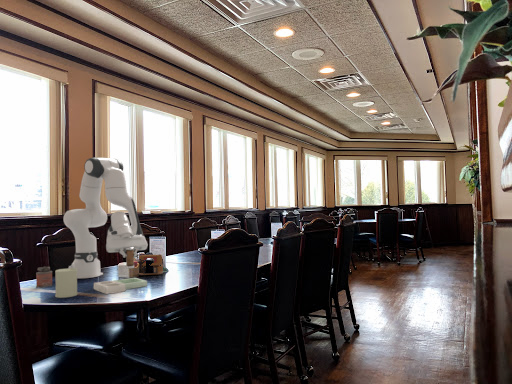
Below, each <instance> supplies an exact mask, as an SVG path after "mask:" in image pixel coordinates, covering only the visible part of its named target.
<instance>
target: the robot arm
mask: <svg viewBox="0 0 512 384" xmlns="http://www.w3.org/2000/svg"><path fill="white" fill-rule="evenodd" d="M84 162H85V163H84V165H83V167H84V172H83V175H82V178H81V182H80V183H81V184H80V189H79V199H80V201H81V202H83V203H85V208H75V209H70V210H66V212H65V213H64V215H63V224H64V225H65V226H66V227H67V228H68V229H70V230H69V231H71V233H72V234H73V236H74V240H75V241H74V242H75V253H74V260H73V262H72V263H71V265H68V269H69V268H75V269H77V279H89V278H96V277H100V276H103V275H104V272H101V261H100V259H98V255H99V254H98V251H97V237H96V236H95V235H93V233H91V232H90V230H89V228H98V227H102V226H104V225H106V223H107V221H108V214H107V212H106V211H105V210H104V209H103V208H102V204H101V196H102V195H101V193H102V187H103V181H104V194H105V197H106V200H107V201H108V202H109V203H111V204H112V205H114V206H118V207H121V208H123V209H125V210H126V211H127V213H128V215H127V214H126V212H123V211H115V212H113V213H112V214H111V216H110V221H111V223H110V226H109V227H108V228H107V232H106V244H105V249H106V252H107V253H119V254H120V255H122V257H123V258H126V257H127V253H126V248H128V247H134V258H135V257H137V256H138V253H137V252H138V251H145V250H147V249H148V245H149V244H148V241H147V240H146V237H145V235H144V232H143V229H142V227H141V224H140V220H139V216H138V214H139V213H138V211H137V208H136V204H135V201H134V198H133V197H131V196H130V195H129V193H128V190H127V183H126V182H127V181H126V178H125V173H124V165H123V162H122V161H121V160H119V159H116V158H109V157H90V158H89V157H88V159H86V160H85V161H84ZM128 216H129V217H128ZM130 224H131V225H130Z"/></svg>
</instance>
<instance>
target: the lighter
mask: <svg viewBox="0 0 512 384" xmlns="http://www.w3.org/2000/svg"><path fill="white" fill-rule="evenodd" d="M37 271H38V272H36V273H35V275H36V278H35V279H36V283H35V288H36V289H42V288H48V287H53V270H51V267H50V266H43V267H37Z"/></svg>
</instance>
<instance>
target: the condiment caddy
mask: <svg viewBox="0 0 512 384" xmlns="http://www.w3.org/2000/svg"><path fill="white" fill-rule="evenodd" d="M147 258H153V259H154V260H155V261H154V263H152V264H151V265H150V264H149V265H150V266H153V267H154V273H139V272H138V275H139V276H147V275H163V274H164V266H163V265H164V264H163V256H162V254H140V255H139V256H138V260H139V259H142V260H146V259H147ZM142 262H143V261H142ZM142 265H143V266H145V268H146V261H145V262H144V263H143V264H142ZM160 265H161V266H160Z"/></svg>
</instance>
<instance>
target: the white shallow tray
mask: <svg viewBox="0 0 512 384" xmlns="http://www.w3.org/2000/svg"><path fill="white" fill-rule="evenodd" d="M93 290H95V291H97V292H99V293H100V292H101V293H103V294H106V295H109V294H114V293H115V294H116V293H120V292H125V291H126V289H125V284H122V283H118V282H115V281H114V280H106V281H99V282H93Z"/></svg>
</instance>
